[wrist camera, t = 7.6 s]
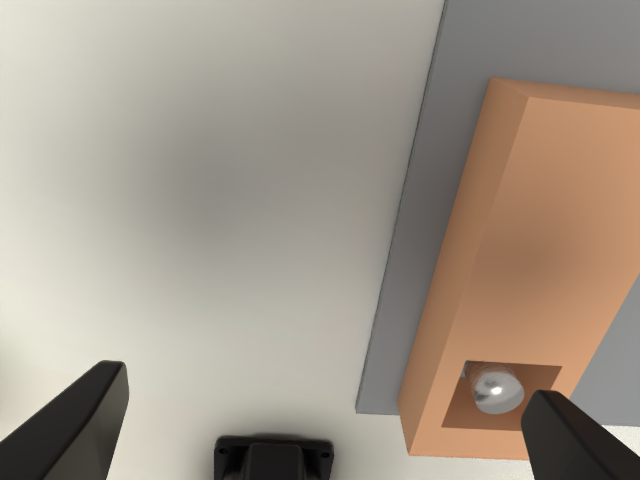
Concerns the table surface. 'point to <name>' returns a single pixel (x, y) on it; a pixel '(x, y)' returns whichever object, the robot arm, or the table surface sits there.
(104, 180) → the table surface
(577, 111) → the link
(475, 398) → the cylinder
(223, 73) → the table surface
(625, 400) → the mat
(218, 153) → the table surface
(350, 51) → the table surface
